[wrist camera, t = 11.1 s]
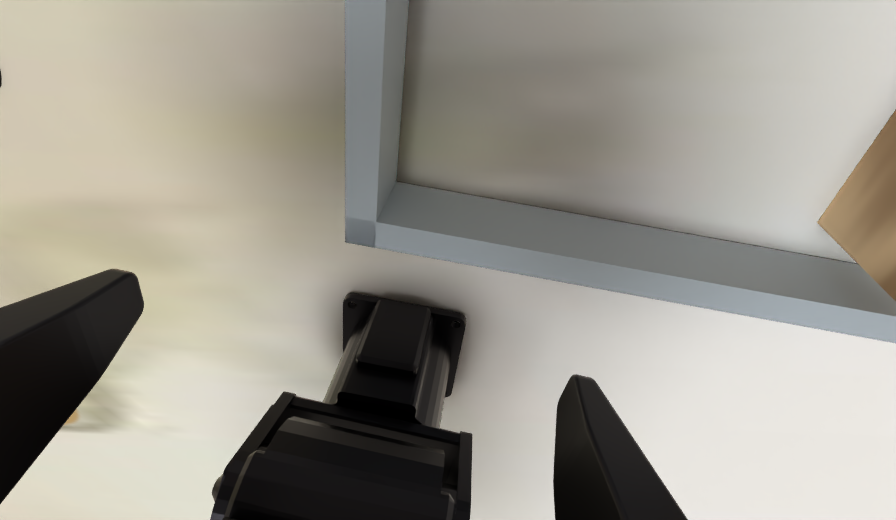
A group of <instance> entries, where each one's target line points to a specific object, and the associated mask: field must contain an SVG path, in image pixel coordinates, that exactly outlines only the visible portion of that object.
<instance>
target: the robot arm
mask: <svg viewBox="0 0 896 520" xmlns="http://www.w3.org/2000/svg"><path fill="white" fill-rule="evenodd" d="M352 302H355V303H356V304H353V303H352ZM143 308H144V301H143V297H142V293H141V289H140V285H139V282H138V278H137V276H136V275H135V274H134V273H132V272H128V271H124V270H119V269H109V270H106V271H103V272H101V273H98V274H95V275H92V276H89V277H86V278H84V279H81V280H78V281H75V282H72V283H69V284H67V285H64V286H61V287H58V288H55V289H52V290H50V291H47V292H44V293H41V294H38V295H35V296H33V297H30V298H27V299H24V300H21V301H18V302H16V303H13V304H10V305H7V306H4V307H1V308H0V504H1V503H2V501H3V500H4V499H5V498H6V496H7V495H8V494H9V493H10V491H11V490H12V489H13V488H14V486H15V485H16V484H17V483H18V481H19V480H20V479H21V477H22V476H23V475H24V474H25V472H26V471H27V470H28V469H29V467H30V466H31V465H32V464H33V462H34V461H35V460H36V459H37V457H38V456H39V455H40V454H41V452H42V451H43V450H44V449H45V447H46V446H47V445H48V444H49V442H50V441H51V440H52V439H53V437H54V436H55V435H56V433H57V432H58V431H59V430H60V428H61V427H62V426H63V425H64V423H65V422H66V421H67V419H68V418H69V417H70V416H71V415H72V413H73V412H74V411H75V410H76V408H77V407H78V406H79V405H80V403H81V402H82V401H83V400H84V398H85V397H86V396H87V395H88V393H89V392H90V391H91V389H92V388H93V387H94V386H95V384H96V383H97V382H98V380H99V379H100V378H101V376H102V375H103V373H104V372H105V370H106V369H107V367H108V366H109V364H110V363H111V361H112V360H113V358H114V356H115V355H116V353H117V352H118V350H119V349H120V347H121V345H122V344H123V342H124V341H125V339H126V338H127V336H128V335H129V333H130V331H131V330H132V328H133V327H134V325H135V324H136V322H137V320H138V319H139V317H140V316H141V314H142V311H143ZM453 321H458V322H459V323H455V322H453ZM465 325H466V318H465V316H464V315H463V314H461V313H458V312H453V311H448V310H442V309H437V308H432V307H426V306H421V305H416V304H410V303H405V302H399V301H394V300H389V299H383V298H378V297H373V296H367V295H362V294H357V293H350V294H348V295H347V296H346V297H345V299H344V302H343V355H342V358H341V360H340V362H339V365H338V367H337V370H336V372H335V374H334V377H333V379H332V381H331V384H330V386H329V388H328V391H327V393H326V396H325V398H324V400H323V402H319V401H315V400H311V399H306V398H302V397H297V396H296V394H293V393H289V392H283V393H282V394H281V396H280V397H279V399H278V400H277V401H276V403H275V404H274V405H272V406H271V407H270V408H269V410H268V411H267V412H266V414H265V415H264V416H263V418H262V419H261V420H260V422H259V423H258V424H257V426H256V427H255V428H254V430H253V431H252V432H251V434H250V435H249V436H248V438H247V439H246V441H245V442H244V443H243V445H242V446H241V447H240V449H239V450H238V451H237V453H236V454H235V455H234V457H233V458H232V459H231V461H230V462H229V463H228V465H227V466H226V468H225V470H224V473H223V474H222V475H221V476H220V477H219V478H218V479H217V481H216V482H215V484H214V487H213V490H212V495H213V498H214V501H215V504H214V507H213V511H212V515H211V519H210V520H470V509H471V470H472V434H471V433H466V432H462V431H460V433H457V432H453V431H448V430H444V429H439V427H440V422H441V416H442V410H443V404H444V398H445V397H448V396H450V395H451V393H452V388H453V383H454V378H455V374H456V369H457V364H458V359H459V354H460V350H461V345H462V340H463V335H464V330H465ZM553 484H554V504H555V520H688V519H687V518H686V516H685V515H684V513H683V512H682V510H681V509H680V507H679V506H678V504H677V503H676V501H675V500H674V498H673V497H672V495H671V494H670V492H669V491H668V489H667V488H666V486H665V485H664V483H663V482H662V480H661V479H660V477H659V476H658V474H657V473H656V471H655V470H654V468H653V467H652V465H651V464H650V462H649V461H648V459H647V458H646V456H645V455H644V453H643V452H642V450H641V449H640V447H639V446H638V444H637V443H636V441H635V440H634V438H633V437H632V435H631V434H630V432H629V431H628V429H627V428H626V426H625V425H624V423H623V422H622V420H621V419H620V417H619V416H618V414H617V413H616V411H615V410H614V408H613V407H612V405H611V404H610V402H609V401H608V399H607V398H606V396H605V395H604V393H603V392H602V390H601V389H600V387H599V386H598V384H597V383H596V382H595V380H593V379H592V378H589V377H585V376H581V375H573V376H571V378H570V379H569V381H568V383H567V385H566V387H565V389H564V391H563V393H562V395H561V397H560V399H559V402H558V406H557V418H556V437H555V456H554V480H553Z"/></svg>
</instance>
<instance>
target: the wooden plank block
mask: <svg viewBox="0 0 896 520" xmlns="http://www.w3.org/2000/svg"><path fill="white" fill-rule="evenodd" d="M817 223H818V224H819V225H820V226H821V227H822V228H823V229H824V230H825V231H826V232H827V233H828V234H829V235H830V236H831V237H832V238H833V239H834V240H835V241H836V242H837V243H838V244H839V245H840V246H841V247H842V248H843V249H844V250H845V251H846V252H847V253H848V254H849V255H850V256H851V257H852V258H853V259H854V260H855V261H856V262H857V263H858V264H859V265H860V266H861V267H862V268H863V269H864V270H865V271H866V272H867V273H868V274H869V275H870V276H871V277H872V278H873V279H874V280H875V281H876V282H877V283H878V284H879V285H880V286H881V287H882V288H883V289H884V290H885V291H886V292H887V293H888V294H889V295H890V296H891V297H892V298H893V299H894V300H895V301H896V110H895V111H894V113H893V114H892V116H891V117H890V119H889V120H888V122H887V123H886V124H885V126H884V127H883V129H882V130H881V132H880V133H879V134H878V136H877V137H876V139H875V140H874V142H873V143H872V144H871V146H870V147H869V149H868V150H867V152H866V153H865V155H864V156H863V157H862V159H861V160H860V162H859V163H858V165H857V166H856V167H855V169H854V170H853V172H852V173H851V175H850V176H849V177H848V179H847V180H846V182H845V183H844V185H843V186H842V188H841V189H840V190H839V192H838V193H837V195H836V196H835V198H834V199H833V200H832V202H831V203H830V205H829V206H828V208H827V209H826V210H825V212H824V213H823V215H822V216H821V218H820V219H819V221H818V222H817Z"/></svg>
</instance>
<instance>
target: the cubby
mask: <svg viewBox="0 0 896 520" xmlns="http://www.w3.org/2000/svg"><path fill="white" fill-rule="evenodd" d="M408 9H409V0H345V242H347V243H352V244H357V245H363V246H368V247H374V248H379V249H385V250H390V251H396V252H401V253H407V254H412V255H417V256H423V257H428V258H434V259H439V260H445V261H450V262H456V263H461V264H466V265H472V266H477V267H483V268H488V269H494V270H499V271H505V272H510V273H516V274H521V275H526V276H532V277H537V278H543V279H548V280H554V281H559V282H565V283H570V284H575V285H581V286H586V287H592V288H597V289H603V290H608V291H614V292H619V293H624V294H630V295H635V296H641V297H646V298H652V299H657V300H663V301H668V302H674V303H679V304H684V305H690V306H695V307H701V308H706V309H712V310H717V311H723V312H728V313H733V314H739V315H744V316H750V317H755V318H761V319H766V320H772V321H777V322H783V323H788V324H793V325H799V326H804V327H810V328H815V329H821V330H826V331H832V332H837V333H842V334H848V335H853V336H859V337H864V338H870V339H875V340H881V341H886V342H892V343H896V301H895V300H894V299H893V298H892V297H891V296H890V295H889V294H888V293H887V292H886V291H885V290H884V289H883V288H882V287H881V286H880V285H879V284H878V283H877V282H876V281H875V280H874V279H873V278H872V277H871V276H870V275H869V274H868V273H867V272H866V271H865V270H864V269H863V268H862V267H861V266H860V265H859V264H854V263H849V262H843V261H838V260H832V259H826V258H821V257H815V256H810V255H804V254H798V253H793V252H787V251H782V250H776V249H770V248H765V247H759V246H754V245H748V244H742V243H737V242H731V241H726V240H720V239H714V238H709V237H703V236H698V235H692V234H686V233H681V232H675V231H670V230H664V229H658V228H653V227H647V226H642V225H636V224H630V223H625V222H619V221H614V220H608V219H603V218H597V217H591V216H586V215H580V214H575V213H569V212H563V211H558V210H552V209H547V208H541V207H535V206H530V205H524V204H519V203H513V202H507V201H502V200H496V199H491V198H485V197H479V196H474V195H468V194H463V193H457V192H451V191H446V190H440V189H435V188H429V187H423V186H418V185H412V184H407V183H401V182H396V180H397V166H398V152H399V138H400V123H401V109H402V95H403V81H404V66H405V52H406V38H407V24H408Z"/></svg>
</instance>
